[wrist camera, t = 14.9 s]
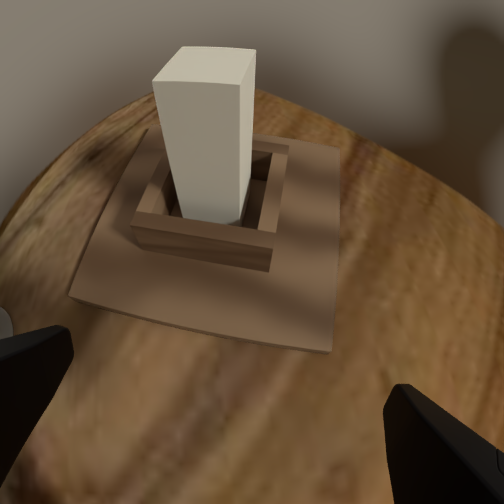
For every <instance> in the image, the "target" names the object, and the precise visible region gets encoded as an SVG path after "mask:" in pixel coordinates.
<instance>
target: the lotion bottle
mask: <svg viewBox="0 0 504 504" xmlns="http://www.w3.org/2000/svg"><path fill="white" fill-rule="evenodd" d="M11 336H13V326H12V322H11V319H10V317H9V315H8V313H7V312H6V311H5V310H4V309H3V308H1V307H0V339H4V338H8V337H11Z"/></svg>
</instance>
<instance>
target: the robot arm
mask: <svg viewBox="0 0 504 504" xmlns="http://www.w3.org/2000/svg"><path fill="white" fill-rule="evenodd" d="M73 357H74V350H73V344H72V339H71V333H70V331H69V329H68V328H66V327H63V326H60V325H53V326H50V327H46V328H42V329H38V330H34V331H31V332H27V333H23V334H19V335H15V336H11V337H8V338H4V339H0V487H1V486H2V484H3V482H4V480H5V478H6V476H7V474H8V472H9V471H10V469H11V467H12V465H13V463H14V461H15V460H16V458H17V456H18V454H19V453H20V451H21V449H22V447H23V446H24V444H25V442H26V441H27V439H28V437H29V436H30V434H31V432H32V431H33V429H34V427H35V426H36V424H37V422H38V421H39V419H40V418H41V416H42V414H43V413H44V411H45V410H46V408H47V407H48V405H49V403H50V402H51V400H52V398H53V397H54V395H55V393H56V391H57V389H58V387H59V385H60V383H61V381H62V379H63V377H64V375H65V373H66V371H67V370H68V368H69V366H70V364H71V362H72V360H73ZM383 420H384V431H385V443H386V455H387V463H388V469H389V474H390V480H391V486H392V492H393V498H394V504H504V453H503V452H502V451H500V450H499V449H496V447H495V446H493V445H492V444H491V443H489V442H488V441H486V440H485V439H484V438H482V437H481V436H480V435H478V434H477V433H475V432H474V431H473V430H471V429H470V428H469V427H467V426H466V425H464V424H463V423H462V422H460V421H459V420H458V419H456V418H455V417H453V416H452V415H451V414H449V413H448V412H447V411H445V410H444V409H443V408H441V407H440V406H439V405H437V404H436V403H434V402H433V401H432V400H430V399H429V398H428V397H426V396H425V395H424V394H422V393H421V392H420V391H418V390H417V389H416V388H414V387H413V386H412V385H410V384H396V385H395V386H394V387H393V389H392V391H391V393H390V395H389V397H388V399H387V401H386V403H385V405H384V408H383Z"/></svg>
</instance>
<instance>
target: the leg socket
mask: <svg viewBox="0 0 504 504" xmlns="http://www.w3.org/2000/svg"><path fill="white" fill-rule="evenodd" d="M339 230H340V150H339V148H337V147H332V146H327V145H322V144H317V143H312V142H306V141H301V140H295V139H289V138H283V137H276V136H269V135H262V134H255V133H252V155H251V179H250V194H249V198H248V202H247V206H246V210H245V214H244V219H243V223H242V227H238V226H232V225H225V224H219V223H213V222H206V221H200V220H193V219H187V218H183V216H182V212H181V208H180V204H179V200H178V196H177V192H176V188H175V184H174V180H173V176H172V172H171V168H170V164H169V159H168V155H167V151H166V146H165V142H164V137H163V133H162V128H161V125H151V126H150V128H149V130H148V131H147V133H146V135H145V136H144V138H143V140H142V141H141V143H140V145H139V146H138V148H137V150H136V151H135V153H134V155H133V157H132V158H131V160H130V162H129V164H128V165H127V167H126V169H125V171H124V173H123V174H122V176H121V178H120V180H119V182H118V184H117V186H116V188H115V189H114V191H113V193H112V195H111V197H110V199H109V201H108V203H107V205H106V207H105V209H104V211H103V213H102V216H101V218H100V220H99V222H98V224H97V226H96V228H95V230H94V233H93V235H92V237H91V239H90V242H89V244H88V246H87V248H86V251H85V253H84V256H83V258H82V260H81V263H80V265H79V268H78V270H77V273H76V275H75V278H74V280H73V283H72V286H71V288H70V291H69V294H68V296H69V297H70V298H71V299H73V300H75V301H78V302H81V303H84V304H88V305H91V306H94V307H98V308H101V309H105V310H108V311H112V312H116V313H119V314H123V315H127V316H130V317H134V318H138V319H142V320H146V321H150V322H154V323H158V324H162V325H166V326H171V327H175V328H179V329H184V330H188V331H193V332H197V333H202V334H207V335H212V336H217V337H222V338H227V339H232V340H237V341H243V342H248V343H254V344H260V345H266V346H272V347H278V348H285V349H292V350H298V351H306V352H313V353H321V354H329V353H330V352H331V351H332V341H333V331H334V319H335V307H336V293H337V277H338V258H339Z"/></svg>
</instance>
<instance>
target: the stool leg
mask: <svg viewBox="0 0 504 504" xmlns="http://www.w3.org/2000/svg"><path fill="white" fill-rule="evenodd" d="M255 61H256V50H253V49H241V48H225V47H182V48H181V49H180V50H179V51H178V52H177V53H176V54H175V55H174V56H173V57H172V59H171V60H170V61H169V62H168V63H167V64H166V65H165V66H164V68H163V69H162V70H161V71H160V72H159V74H158V75H157V76H156V77H155V78H154V79H153V81H152V84H153V89H154V95H155V100H156V104H157V109H158V114H159V119H160V124H161V128H162V133H163V137H164V142H165V146H166V151H167V155H168V159H169V164H170V168H171V172H172V176H173V180H174V184H175V188H176V192H177V196H178V200H179V204H180V208H181V212H182V216H183V218H187V219H193V220H200V221H206V222H213V223H219V224H225V225H232V226H238V227H242V223H243V219H244V214H245V210H246V206H247V202H248V198H249V194H250V179H251V155H252V131H253V108H254V86H255V63H256V62H255Z"/></svg>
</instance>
